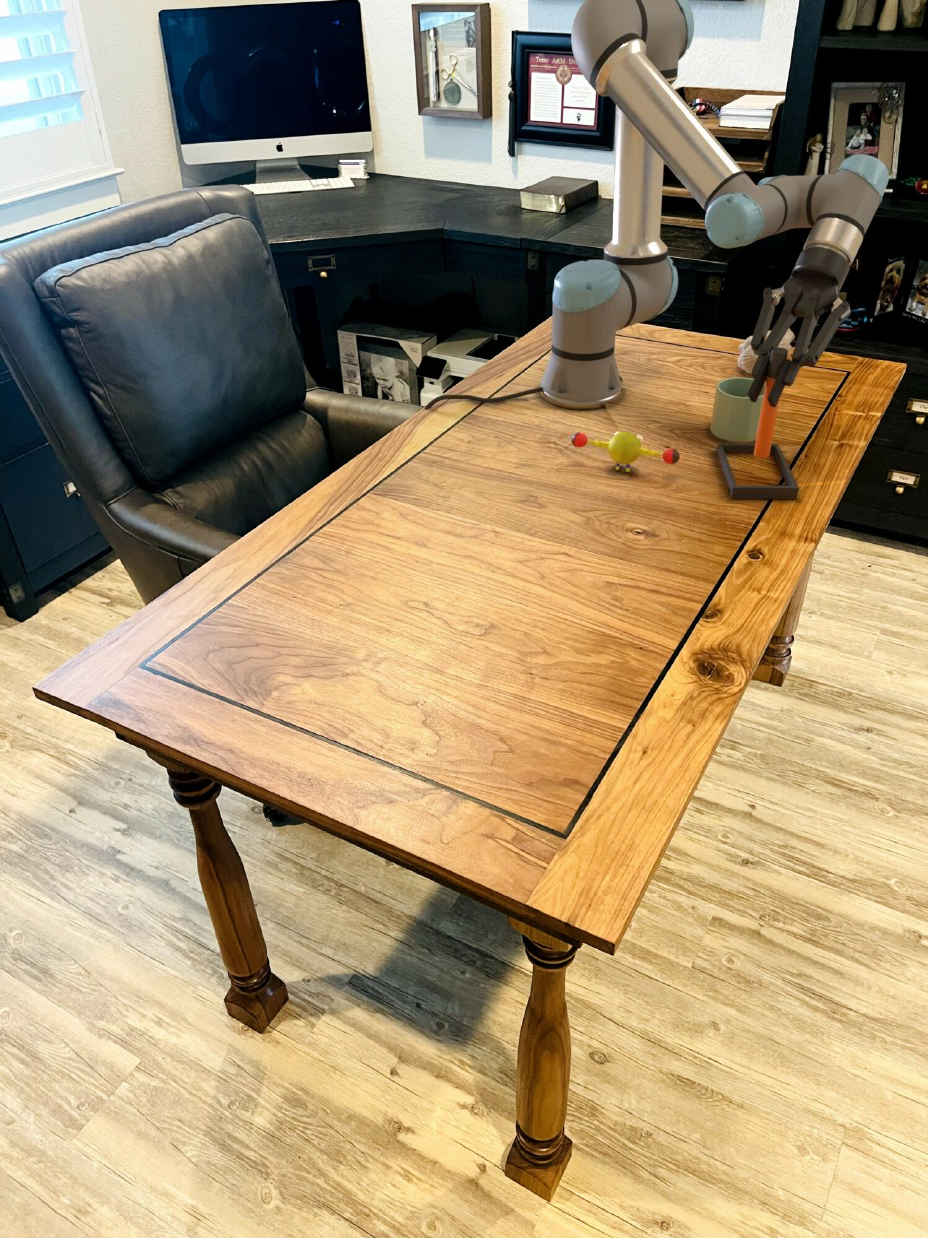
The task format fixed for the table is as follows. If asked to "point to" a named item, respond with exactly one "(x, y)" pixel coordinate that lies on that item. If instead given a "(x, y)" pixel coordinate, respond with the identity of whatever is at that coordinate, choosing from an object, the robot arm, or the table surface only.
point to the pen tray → (757, 491)
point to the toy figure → (625, 449)
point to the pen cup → (735, 410)
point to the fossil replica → (749, 358)
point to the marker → (767, 411)
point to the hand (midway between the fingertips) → (761, 400)
